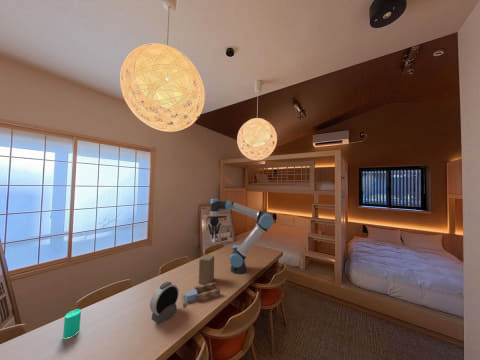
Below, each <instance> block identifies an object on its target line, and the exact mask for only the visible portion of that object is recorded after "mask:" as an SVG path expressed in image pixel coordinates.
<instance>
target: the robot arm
mask: <svg viewBox="0 0 480 360" xmlns="http://www.w3.org/2000/svg"><path fill="white" fill-rule="evenodd" d="M209 209H210V212H209V214H210V216H209V217H210V220H209V222H208V223H207V224H206V225H207V227H208V232H209V234H210V235H211V239H212V243H216V239H217V235H219V233H220V228H221V226H222V223H221V222H220V221H219V219H220V218H219V214H220V213H219V210H232V211H234V212H237V213H239V214H242V215H245V216H248V217H251V218H254V219H255V220H256V222H255V226H254V227H253V229H252V230H251V231H250V232H249V234H248V235H247V236H246V238H244V240H243V241H242V243H241V244H233V245H232V252H231V253H230V254H231V255H230V256H229V263H230V272H231V273H232V274H236V275H238V274H244V273H246V272H247V265H246V261H245V260H246V258H247V257H248V253H249V251H250V250H251V249H252V248H253V246H254V245H255V244H256V243H257V241H258V240H259V239H260V237H261V236H262V235H263V233H266V232H267V231H268V230H269V229H270V228H272V227H273V225H274V222H275V220H274V218H273V216H272V215H271V213H269V212H266V211H262V210H257V209H254V208H251V207H248V206H245V205H243V204H240V203H238V202H237V203H236V202H234V201H231V200H229V199H227V200H219V198H211V199H210V208H209Z"/></svg>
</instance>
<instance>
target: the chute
mask: <svg viewBox="0 0 480 360" xmlns="http://www.w3.org/2000/svg"><path fill="white" fill-rule="evenodd" d="M194 289H196V290H197V293H198V294H197V300H195V301H191V302H188V303H187V301H186V294H185V295H184V293H181V296H180V297H181V298H180V299H181V303H182V308H185V307H186V306H190V305H193V304H197V303H199V302H203V301H206V300H210V299H214V298H217V297H221V289H220V288H217V282H216V281H214V282H213V281H212V283H209V284H205V285H204V284H200V285H197V286H194Z"/></svg>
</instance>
